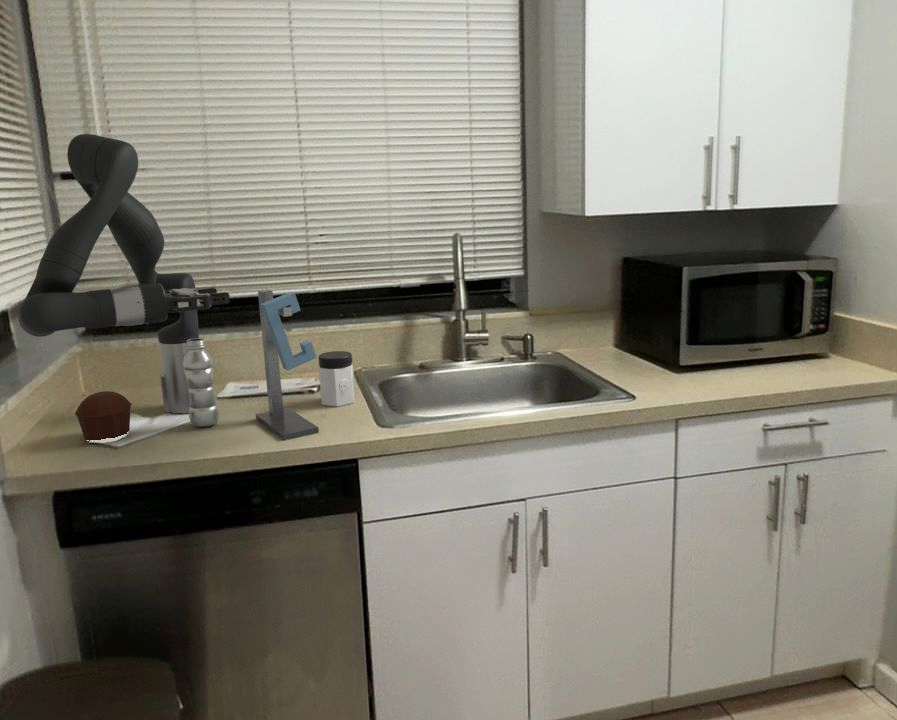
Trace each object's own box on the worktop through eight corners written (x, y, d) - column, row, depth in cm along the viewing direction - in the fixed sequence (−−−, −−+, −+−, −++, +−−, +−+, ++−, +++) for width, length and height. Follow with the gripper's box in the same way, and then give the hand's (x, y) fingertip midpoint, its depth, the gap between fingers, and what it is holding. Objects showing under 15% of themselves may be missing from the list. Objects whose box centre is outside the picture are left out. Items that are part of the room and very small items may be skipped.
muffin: (114, 447, 160) (108, 402, 158) (67, 445, 162) (60, 401, 160) (145, 428, 172) (140, 386, 169) (101, 427, 174) (95, 385, 171)
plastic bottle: (204, 431, 168) (193, 344, 164) (184, 427, 172) (173, 341, 167) (226, 423, 174) (217, 338, 169) (206, 419, 177) (196, 335, 172)
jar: (328, 409, 182) (325, 360, 179) (315, 401, 188) (311, 354, 186) (362, 402, 186) (359, 354, 184) (347, 394, 193) (344, 349, 190)
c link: (287, 370, 161) (264, 305, 156) (283, 368, 164) (260, 304, 158) (316, 357, 165) (295, 293, 159) (312, 355, 167) (290, 292, 161)
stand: (284, 440, 161) (271, 301, 154) (255, 419, 176) (243, 291, 169) (318, 432, 165) (308, 296, 158) (288, 412, 180) (277, 287, 173)
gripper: (143, 288, 137) (231, 279, 146) (127, 281, 149) (210, 273, 157) (148, 329, 139) (235, 318, 147) (132, 319, 151) (214, 309, 159)
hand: (222, 295), depth 152 cm, fingers open, 8 cm apart
